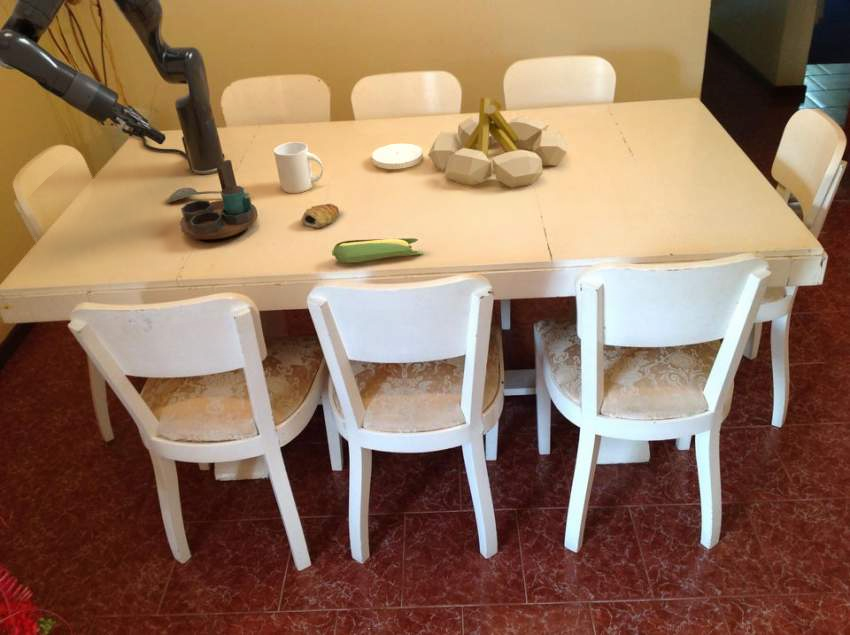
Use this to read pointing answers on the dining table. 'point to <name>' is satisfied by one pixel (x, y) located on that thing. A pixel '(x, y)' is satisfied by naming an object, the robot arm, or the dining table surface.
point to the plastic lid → (397, 156)
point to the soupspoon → (191, 193)
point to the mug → (295, 167)
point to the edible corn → (373, 249)
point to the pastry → (320, 215)
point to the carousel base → (224, 238)
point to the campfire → (516, 134)
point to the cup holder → (219, 210)
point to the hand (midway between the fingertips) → (163, 140)
